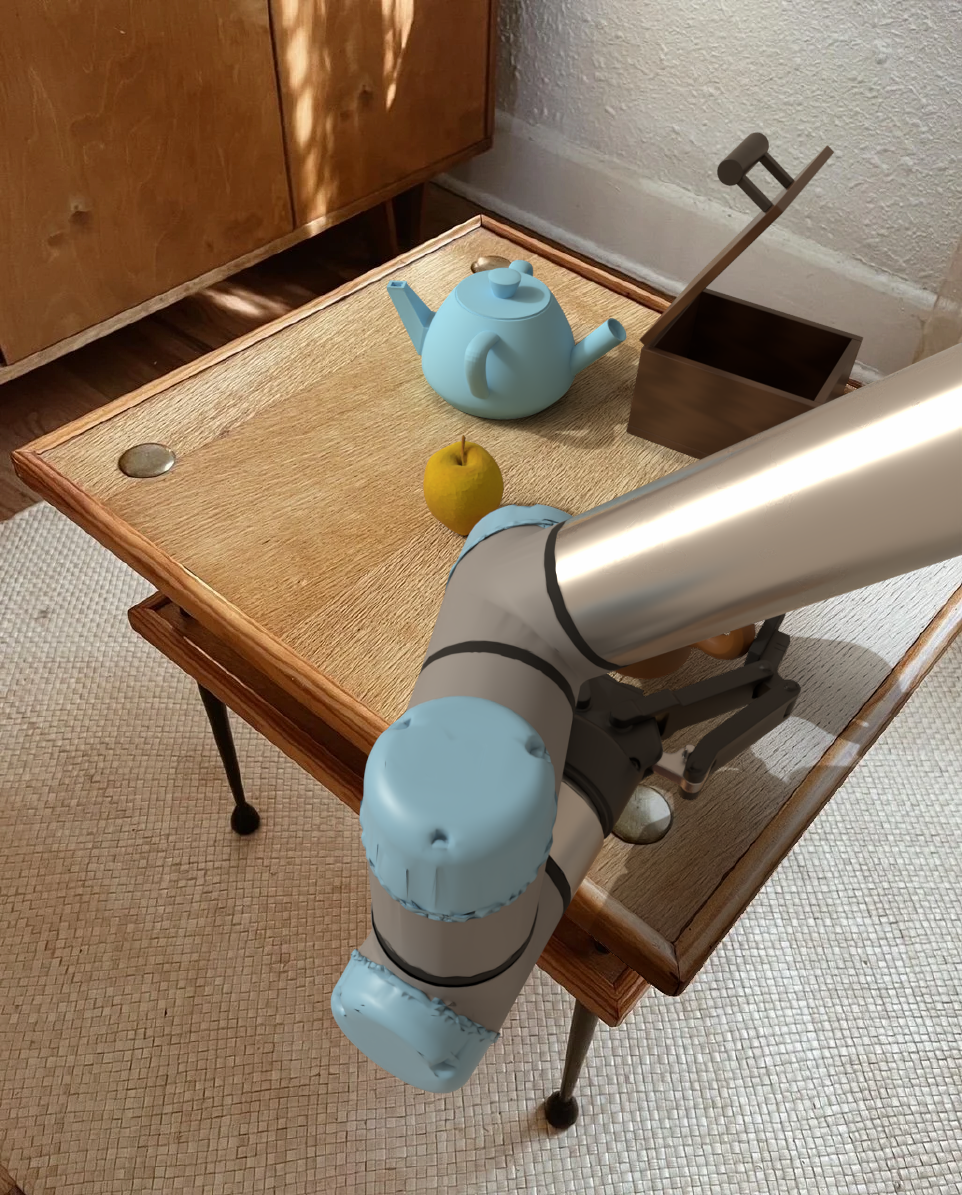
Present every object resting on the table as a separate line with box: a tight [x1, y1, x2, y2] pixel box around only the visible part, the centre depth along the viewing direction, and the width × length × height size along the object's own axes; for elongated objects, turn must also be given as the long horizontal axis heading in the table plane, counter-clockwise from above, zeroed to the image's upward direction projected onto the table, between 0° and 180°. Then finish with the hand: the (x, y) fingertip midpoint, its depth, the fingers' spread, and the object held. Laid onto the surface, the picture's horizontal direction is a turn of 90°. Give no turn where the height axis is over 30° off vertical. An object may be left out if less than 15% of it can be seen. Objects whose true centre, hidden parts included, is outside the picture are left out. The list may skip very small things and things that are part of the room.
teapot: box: [386, 259, 628, 420], centre depth 93 cm, size 15×17×11 cm
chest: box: [625, 287, 864, 460], centre depth 91 cm, size 16×13×9 cm
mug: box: [613, 623, 757, 680], centre depth 68 cm, size 12×8×9 cm, turn 40°
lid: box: [639, 131, 835, 346], centre depth 83 cm, size 16×13×6 cm
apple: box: [422, 434, 505, 536], centre depth 81 cm, size 6×6×8 cm
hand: (696, 566), depth 69 cm, fingers closed on mug, 12 cm apart
